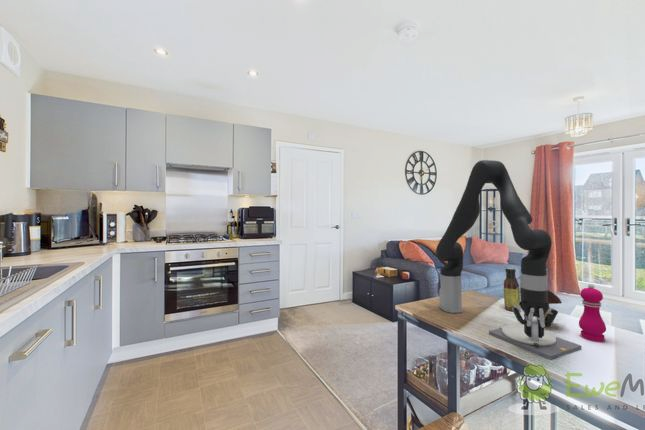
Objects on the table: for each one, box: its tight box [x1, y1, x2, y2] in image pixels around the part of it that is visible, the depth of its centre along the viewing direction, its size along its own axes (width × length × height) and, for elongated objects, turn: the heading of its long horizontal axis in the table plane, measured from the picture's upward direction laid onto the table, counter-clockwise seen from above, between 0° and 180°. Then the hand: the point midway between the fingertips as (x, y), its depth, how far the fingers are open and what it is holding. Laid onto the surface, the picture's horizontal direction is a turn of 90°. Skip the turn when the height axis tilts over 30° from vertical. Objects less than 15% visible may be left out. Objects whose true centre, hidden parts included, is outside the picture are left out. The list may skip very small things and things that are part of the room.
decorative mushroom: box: [544, 290, 562, 319], centre depth 114 cm, size 11×11×15 cm
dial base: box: [488, 327, 582, 361], centre depth 100 cm, size 21×17×1 cm
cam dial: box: [501, 320, 557, 347], centre depth 101 cm, size 18×16×7 cm
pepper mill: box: [578, 283, 607, 343], centre depth 102 cm, size 7×7×20 cm
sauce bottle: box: [503, 267, 521, 312], centre depth 133 cm, size 7×6×20 cm
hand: (534, 336), depth 96 cm, fingers closed on cam dial, 2 cm apart
